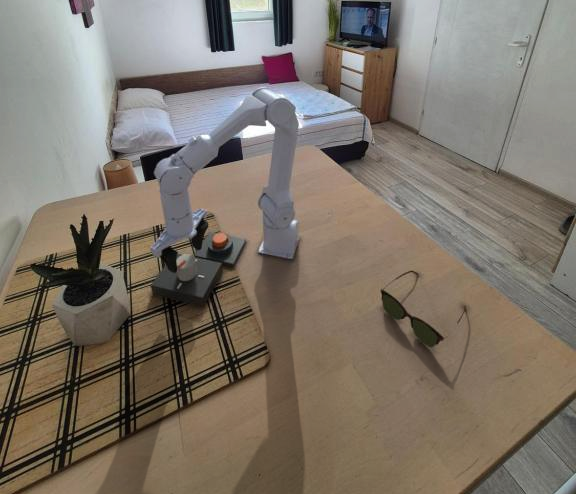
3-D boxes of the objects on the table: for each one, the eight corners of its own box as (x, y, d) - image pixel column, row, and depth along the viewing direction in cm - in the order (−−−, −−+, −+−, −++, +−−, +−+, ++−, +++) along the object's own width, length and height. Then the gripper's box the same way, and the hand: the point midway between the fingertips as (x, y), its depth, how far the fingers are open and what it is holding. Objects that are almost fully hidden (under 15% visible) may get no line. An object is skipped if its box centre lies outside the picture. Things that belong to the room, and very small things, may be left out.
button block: (246, 242, 90) (245, 233, 89) (233, 267, 82) (232, 258, 81) (209, 235, 93) (208, 226, 91) (194, 258, 85) (192, 250, 83)
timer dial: (187, 263, 79) (185, 250, 78) (201, 270, 77) (199, 257, 76) (173, 276, 76) (171, 262, 74) (187, 284, 74) (185, 270, 72)
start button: (229, 239, 88) (228, 234, 87) (223, 249, 84) (223, 243, 84) (216, 237, 88) (216, 232, 88) (211, 246, 85) (210, 241, 84)
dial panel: (222, 271, 81) (221, 262, 80) (203, 307, 72) (202, 297, 71) (176, 261, 84) (174, 252, 82) (152, 294, 75) (150, 284, 74)
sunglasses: (376, 304, 73) (380, 287, 71) (411, 274, 82) (415, 258, 80) (438, 356, 63) (444, 338, 61) (470, 315, 72) (476, 298, 70)
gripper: (164, 239, 62) (173, 289, 67) (214, 198, 73) (219, 244, 79) (139, 226, 65) (150, 275, 70) (191, 190, 76) (197, 234, 82)
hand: (185, 258), depth 75 cm, fingers open, 7 cm apart
